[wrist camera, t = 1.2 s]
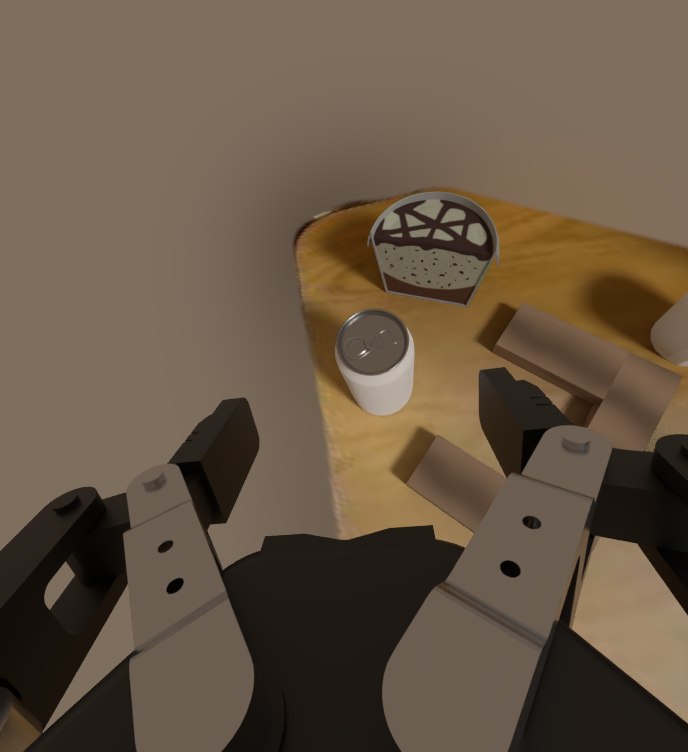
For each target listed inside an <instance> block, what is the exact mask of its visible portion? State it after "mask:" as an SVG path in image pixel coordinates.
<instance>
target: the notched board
mask: <svg viewBox="0 0 688 752" xmlns="http://www.w3.org/2000/svg"><path fill="white" fill-rule="evenodd" d="M492 352H493V353H495V354H497V355H499V356H501V357H502V358H504V359H506V360H508V361H510V362H512V363H514V364H516V365H518V366H520V367H522V368H523V369H525V370H527V371H529V372H531V373H533V374H535V375H537V376H539V377H541V378H543V379H544V380H546V381H548V382H550V383H552V384H554V385H556V386H558V387H560V388H562V389H564V390H565V391H567V392H569V393H571V394H573V395H575V396H577V397H579V398H581V399H583V400H585V401H586V402H588V403H590V404H592V405H593V406H592V408H591V409H590V411H589V413H588V415H587V417H586V418H585V420H584V422H583V424H582V425H581V427H584V428H588V429H591V430H594V431H596V432H598V433H600V434H602V435H603V436H604V437H606V438H607V439H608V440H609V441H610V443H611V446H612V448H617V449H624V450H634V451H644V450H645V448H646V446H647V444H648V442H649V441H650V439H651V437H652V435H653V433H654V431H655V429H656V427H657V425H658V423H659V421H660V419H661V417H662V415H663V413H664V411H665V409H666V407H667V406H668V404H669V402H670V400H671V398H672V396H673V394H674V392H675V390H676V388H677V386H678V384H679V382H680V380H681V378H682V376H680V375H678V374H676V373H674V372H672V371H670V370H667V369H665V368H663V367H661V366H659V365H657V364H655V363H652V362H650V361H648V360H646V359H644V358H642V357H639V356H637V355H635V354H633V353H631V352H629V351H626V350H624V349H622V348H620V347H618V346H616V345H614V344H611V343H609V342H607V341H605V340H603V339H601V338H598V337H596V336H594V335H592V334H590V333H588V332H586V331H583V330H581V329H579V328H577V327H575V326H573V325H570V324H568V323H566V322H564V321H562V320H560V319H557V318H555V317H553V316H551V315H549V314H547V313H545V312H542V311H540V310H538V309H536V308H534V307H532V306H529V305H527V304H525V303H522V304H521V306H520V307H519V309H518V311H517V312H516V314H515V315H514V317H513V318H512V320H511V321H510V323H509V325H508V326H507V328H506V329H505V331H504V332H503V334H502V335H501V337H500V339H499V340H498V342H497V343H496V345H495V347H494V348H493V350H492ZM506 480H507V478H505V477H504V476H502V475H501V474H499V473H497V472H496V471H494V470H493V469H491V468H490V467H488V466H486V465H485V464H483V463H482V462H480V461H479V460H477V459H475V458H474V457H472V456H471V455H469V454H468V453H466V452H464V451H463V450H461V449H460V448H458V447H457V446H455V445H453V444H452V443H450V442H449V441H447V440H445V439H444V438H442V437H441V436H439V435H437V437H436V438H435V440H434V441H433V443H432V444H431V446H430V447H429V449H428V451H427V452H426V454H425V455H424V457H423V458H422V460H421V461H420V463H419V465H418V466H417V468H416V469H415V471H414V472H413V474H412V475H411V477H410V479H409V480H408V482H407V483H406V485H407V486H408V487H410V488H411V489H413V490H414V491H416V492H417V493H418V494H420V495H421V496H423V497H424V498H425V499H427V500H428V501H430V502H431V503H433V504H434V505H435V506H437V507H438V508H440V509H441V510H442V511H444V512H445V513H447V514H448V515H449V516H451V517H452V518H454V519H455V520H457V521H458V522H459V523H461V524H462V525H464V526H465V527H466V528H468V529H469V530H471V531H472V532H474V533H475V531H476V530H477V528H478V526H479V525H480V523H481V521H482V520H483V518H484V516H485V515H486V513H487V511H488V510H489V508H490V506H491V505H492V503H493V501H494V500H495V498H496V496H497V495H498V493H499V491H500V490H501V488H502V486H503V485H504V483H505V481H506ZM599 538H600V536H596V539H595V543H594V546H593V549H594V547H595V546H596V544H597V542H598V540H599ZM592 551H593V550H592Z"/></svg>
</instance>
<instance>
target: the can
mask: <svg viewBox="0 0 688 752" xmlns="http://www.w3.org/2000/svg"><path fill="white" fill-rule="evenodd" d="M335 358H336V362H337V365H338V367H339V370H340V372H341V374H342V376H343V378H344V380H345V382H346V384H347V386H348V388H349V389H350V391H351V393H352V395H353V397H354V399H355V400H356V402H357V404H358V405H359V406H360V407H361V408H362V409H363V410H365V411H366V412H368V413H371V414H374V415H380V416H384V415H390V414H393V413H395V412H397V411H399V410H400V409H402V408H403V407H404V406H405V405H406V403H407V402H408V400H409V399H410V396H411V393H412V388H413V372H414V343H413V339H412V336H411V334H410V332H409V330H408V329H407V328H406V326H405V324H404V323H403V322H402V320H401V319H400V318H399V317H397V316H396V315H395V314H393V313H391V312H389V311H386V310H383V309H366V310H362V311H359V312H357V313H355V314H353V315H352V316H350V317H349V318H348V319H347V320H346V321H345V322H344V323H343V325H342V326H341V328H340V330H339V332H338V335H337V339H336V345H335Z"/></svg>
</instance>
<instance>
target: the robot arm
mask: <svg viewBox="0 0 688 752" xmlns="http://www.w3.org/2000/svg"><path fill="white" fill-rule="evenodd" d="M479 418H480V423H481V427H482V430H483V432H484V434H485V436H486V438H487V440H488V442H489V444H490V446H491V448H492V450H493V452H494V454H495V456H496V458H497V460H498V462H499V464H500V466H501V468H502V470H503V472H504V474H505V476H506V478H507V480H506V481H505V483H504V485H503V486H502V488H501V490H500V491H499V493H498V495H497V496H496V498H495V500H494V501H493V503H492V505H491V506H490V508H489V510H488V511H487V513H486V515H485V516H484V518H483V520H482V521H481V523H480V525H479V526H478V528H477V530H476V531H475V533H474V535H473V536H472V538H471V540H470V541H469V543H468V545H467V546H466V548H465V547H462V546H459V545H457V544H454V543H450V542H447V541H443V540H437V539H435V534H434V529H433V525H428V526H413V527H399V528H388V529H385V530H381V531H378V532H374V533H371V534H367V535H364V536H360V537H357V538H354V539H350V540H338V539H332V538H326V537H320V536H315V535H309V534H295V535H279V536H266V537H265V539H264V541H263V545H262V548H261V551H258V552H255V553H253V554H250V555H248V556H245V557H244V558H242V559H240V560H238V561H236V562H235V563H233V564H231V565H230V566H228V567H227V568H225V569H224V570H223V568H222V565H221V563H220V560H219V558H218V556H217V553H216V551H215V548H214V546H213V543H212V541H211V538H210V536H209V534H208V531H207V530H208V528H209V526H210V524H221V523H226V522H227V520H228V518H229V516H230V513H231V511H232V509H233V507H234V504H235V502H236V500H237V498H238V496H239V493H240V491H241V488H242V486H243V484H244V482H245V480H246V478H247V475H248V473H249V471H250V468H251V466H252V464H253V462H254V460H255V457H256V455H257V453H258V450H259V435H258V432H257V428H256V426H255V422H254V419H253V416H252V412H251V409H250V406H249V403H248V401H247V400H246V398H236V399H227V400H223V401H222V402H221V403H220V404H219V406H218V407H217V408H216V410H215V411H214V412H213V414H212V415H209V416H208V417H207V418H205V419H204V420H203V421H201V422H200V423H199V424H198V425H197V426H196V427H195V429H194V430H193V431H192V433H191V435H189V436H188V438H187V439H186V442H184V443H183V444H182V445H181V447H180V448H179V449H178V451H177V452H176V453H175V454H174V456H173V457H172V458H171V460H170V461H169V462H168V463H167V464H163V465H159V466H155V467H153V468H150V469H148V470H146V471H144V472H143V473H141V474H140V475H138V476H137V477H136V478H135V479H134V480H133V481H132V482H131V483H130V484H129V486H128V488H127V490H126V493H122V494H119V495H116V496H112V497H109V498H106V499H101V497H100V496H99V494H98V492H97V491H96V489H95V488H93V487H82V488H78V489H75V490H72V491H70V492H67V493H65V494H63V495H61V496H60V497H58V498H56V499H54V500H53V501H52V502H50V503H49V504H48V505H46V506H45V507H44V508H43V509H42V510H41V511H40V512H39V513H38V514H37V515H36V516H35V517H34V518H33V519H32V520H31V521H30V522H29V523H28V524H27V525H26V526H25V527H24V528H23V529H22V530H21V531H20V532H19V533H18V534H17V535H16V536H15V537H14V538H13V539H12V540H11V541H10V542H9V543H8V544H7V545H6V546H5V547H4V548H3V549H2V550H1V551H0V752H688V723H687V722H685V721H684V720H683V719H682V718H680V717H679V716H678V715H677V714H675V713H674V712H673V711H672V710H671V709H669V708H668V707H667V706H666V705H664V704H663V703H662V702H661V701H659V700H658V699H657V698H656V697H655V696H653V695H652V694H651V693H650V692H648V691H647V690H646V689H645V688H643V687H642V686H641V685H640V684H639V683H637V682H636V681H635V680H634V679H632V678H631V677H630V676H629V675H627V674H626V673H625V672H624V671H623V670H621V669H620V668H619V667H618V666H616V665H615V664H614V663H613V662H611V661H610V660H609V659H608V658H606V657H605V656H604V655H603V654H602V653H600V652H599V651H598V650H597V649H595V648H594V647H593V646H592V645H590V644H589V643H588V642H587V641H586V640H584V639H583V638H582V637H581V636H579V635H578V634H577V633H576V632H574V631H573V630H572V626H573V622H574V618H575V613H576V609H577V604H578V600H579V596H580V592H581V588H582V585H583V581H584V578H585V574H586V571H587V567H588V564H589V560H590V557H591V553H592V550H593V546H594V543H595V539H596V536H600V537H605V538H611V539H616V540H622V541H627V542H632V543H637V544H638V546H639V547H640V548H641V550H642V551H643V553H644V554H645V556H646V557H647V558H648V560H649V561H650V563H651V564H652V565H653V567H654V568H655V570H656V571H657V573H658V574H659V575H660V577H661V578H662V580H663V581H664V582H665V584H666V585H667V587H668V588H669V589H670V591H671V592H672V594H673V595H674V597H675V598H676V599H677V601H678V602H679V604H680V605H681V606H682V608H683V609H684V611H685V612H686V614H687V615H688V435H684V434H675V435H668V436H664V437H662V438H660V439H659V440H658V441H657V442H656V445H655V449H654V452H645V451H634V450H624V449H617V448H612V446H611V443H610V441H609V440H608V439H607V438H606V437H604V436H603V435H602V434H600V433H598V432H596V431H594V430H591V429H588V428H584V427H579V426H574V425H573V424H572V423H571V422H570V421H569V420H568V419H567V418H566V417H565V416H564V415H563V414H562V412H561V411H560V410H559V409H558V408H557V407H556V406H555V405H553V404H552V402H551V401H550V399H549V398H548V397H546V395H545V394H544V393H543V392H542V391H541V390H540V389H539V387H537V386H535V385H533V384H531V383H529V382H527V381H525V380H519V381H516V380H515V379H514V378H513V376H512V375H511V374H510V373H509V372H508V370H507V369H506V368H504V367H502V368H494V369H485V370H480V372H479ZM65 561H66V562H67V564H68V565H69V567H70V568H71V569H72V571H73V572H74V574H75V576H74V578H73V579H72V580H71V582H70V583H69V585H68V586H67V587H66V589H65V590H64V591H63V593H62V594H61V595H60V597H59V598H58V600H57V601H56V602H55V604H54V605H53V606H52V608H51V609H50V610H49V609H48V608H47V607H46V605H45V602H44V594H45V590H46V587H47V585H48V583H49V582H50V580H51V579H52V578H53V576H54V575H55V574H56V573H57V571H58V570H59V569H60V568H61V566H62V565H63V564H64V562H65ZM127 584H128V588H129V598H130V608H131V618H132V628H133V638H134V651H133V652H132V653H131V654H130V655H128V656H127V657H126V658H125V659H124V660H123V661H122V662H121V663H120V664H119V665H117V666H116V667H115V668H114V669H113V670H112V671H111V672H110V673H109V674H108V675H106V676H105V677H104V678H103V679H102V680H101V681H100V682H99V683H98V684H97V685H95V686H94V687H93V688H92V689H91V690H90V691H89V692H88V693H87V694H86V695H84V696H83V697H82V698H81V699H80V700H79V701H78V702H77V703H76V704H74V705H73V706H72V707H71V708H70V709H69V710H68V711H67V712H66V713H65V714H64V715H62V716H61V717H60V718H59V719H58V720H57V721H56V722H55V723H54V724H52V725H51V726H50V727H49V728H48V729H47V730H46V731H45V732H44V733H43V730H44V728H45V727H46V725H47V723H48V721H49V719H50V718H51V716H52V714H53V712H54V711H55V709H56V707H57V705H58V704H59V702H60V700H61V699H62V697H63V695H64V694H65V692H66V690H67V688H68V687H69V685H70V683H71V681H72V680H73V678H74V676H75V674H76V672H77V671H78V669H79V667H80V666H81V664H82V662H83V661H84V659H85V657H86V655H87V654H88V652H89V650H90V648H91V647H92V645H93V643H94V641H95V640H96V638H97V636H98V635H99V633H100V631H101V629H102V628H103V626H104V624H105V622H106V621H107V619H108V617H109V615H110V614H111V612H112V610H113V609H114V607H115V605H116V603H117V602H118V600H119V598H120V597H121V595H122V593H123V591H124V590H125V588H126V586H127Z"/></svg>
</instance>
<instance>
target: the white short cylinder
mask: <svg viewBox="0 0 688 752" xmlns="http://www.w3.org/2000/svg"><path fill="white" fill-rule="evenodd" d="M651 342H652V345H653V347H654V349H655V351H656V352H658V353H659V354H660V355H661V356H662V357H663V358H664V359H665V360H668V361H670V362H672V363H674V364H676V365H681V366H688V292H687V293H686V294H685V295H684V296H683V297H682V298H681V299H680V300H679V301H678V302H677V303H676V304H674V305H673V306H672V307H671V308H670V309H669V310H668V311H667V312H666V313H665V314H664V315H663V316H662V317H661V318H660V319H658V320H657V321H656V322H655V324H654V326H653V327H652V329H651Z"/></svg>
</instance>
